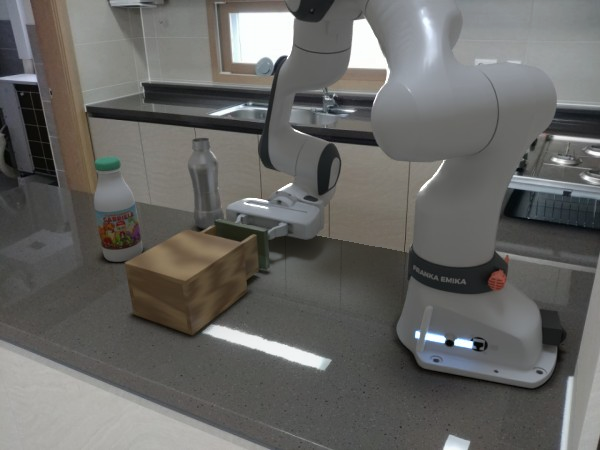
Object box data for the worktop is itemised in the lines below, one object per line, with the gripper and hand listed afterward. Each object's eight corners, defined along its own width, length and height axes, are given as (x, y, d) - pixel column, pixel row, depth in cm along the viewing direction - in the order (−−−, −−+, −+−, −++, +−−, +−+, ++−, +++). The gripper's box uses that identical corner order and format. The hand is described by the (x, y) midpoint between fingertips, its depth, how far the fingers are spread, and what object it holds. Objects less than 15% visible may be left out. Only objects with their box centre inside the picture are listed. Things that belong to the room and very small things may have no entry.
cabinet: (192, 276, 100) (186, 229, 96) (247, 292, 94) (243, 242, 90) (133, 314, 88) (124, 262, 84) (192, 335, 82) (185, 280, 78)
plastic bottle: (219, 233, 117) (210, 144, 109) (190, 231, 119) (179, 143, 111) (228, 221, 123) (221, 136, 115) (201, 220, 124) (191, 135, 116)
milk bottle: (97, 254, 109) (78, 159, 102) (133, 242, 114) (117, 151, 106) (113, 266, 104) (95, 168, 96) (150, 254, 109) (135, 159, 101)
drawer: (235, 246, 109) (232, 210, 106) (282, 257, 104) (280, 220, 101) (174, 285, 95) (168, 245, 92) (225, 301, 90) (221, 259, 86)
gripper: (246, 187, 117) (206, 208, 106) (330, 201, 108) (295, 226, 97) (248, 213, 120) (209, 237, 109) (330, 230, 110) (296, 257, 99)
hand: (250, 232), depth 103 cm, fingers closed on drawer, 6 cm apart
